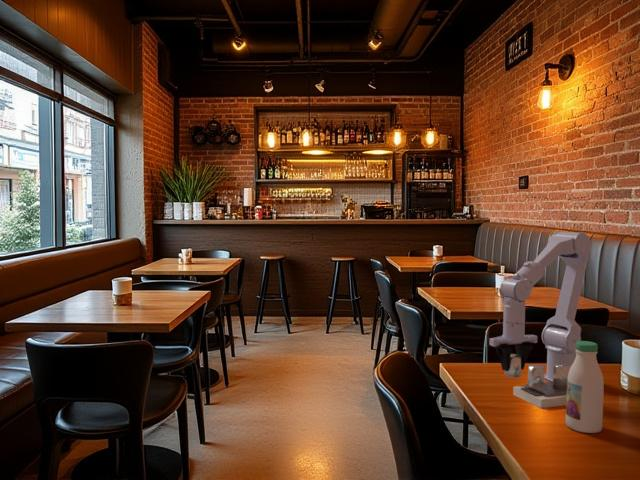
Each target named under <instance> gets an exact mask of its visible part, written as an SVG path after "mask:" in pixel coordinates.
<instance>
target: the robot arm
mask: <svg viewBox="0 0 640 480" xmlns="http://www.w3.org/2000/svg"><path fill="white" fill-rule="evenodd" d="M547 240H548V242H547V245H546V246H545V247H544V249H543V250H541V252H540V253H539V254H538V256H537V257H536V258H535V259H534V260H533V261H530V260H529V261H525V262H524V263H523V265H522V266H521V267H520V268H519V269H518V270H517V272H516V273H514V274H513V276H512V277H510V278H506V279H505V280H504V281H502V282H501V284H500V287H499V288H498V291H499V295H500V296H501V302H502V304H503V314H502V315H503V316H502V317H503V321H502V322H503V323H502V335H500V336H496V337H491V338H489V343H488V344H489V346H491V347H494V350H495V351H496V353H497V355H498V357H499V362H500V365H501V369H502V370H503V371H504V372H505V371H509V363H510V355H511V354H512V352H513V348H511V347H510V345H514V347H515V354H517V355H520V356H522V359H521V371H523V370H524V369H525V366H526V362H527V360H528V357H529V355H530V354H531V351H533V349H534V345H533V344H536V343H538V335H535V334H525V332H526V331H525V327H526V325H525V324H526V322H525V321H526V300H527V299H529V297H530V296H531V292H532V290H533V287H534V286H535V285H536V284H537V283H538V282H539V281H540V279H541V278H543V276H544V274H545V273H544V272H545V271H544V270H545V269H546V268H547V267H548V266H549V265H550V264H551V263H552V262H554V261H555V260H556V259H557V258H560V259H561V260H562V261H564V263H565V264H566V265H565V266H566V267H565V270H564V275H563V279H562V283H561V288H560V293H559V297H558V300H557V306H556V309H555V310H556V311H555V315H554V316H552V317H550V318H549V319H547V320H546V325H545V326H544V327H543V330H542V332H541V340H542V343H543V344H544V346H545V347H544V348H545V349H547V351H546V352H547V353H546V354H547V355H546V374H545V373H544V380H547V381H548V382H552V381H553V365H554V364H566V365H569V366H572V364H573V363H574V360H575V358H576V354H577V352H576V342H578V341H582V337H581V333H582V327H581V326H580V325H579V324H578V323H577V322H576V320H575V319H576V316H577V315H576V314H577V309H578V305H579V302H580V298H581V297H580V296H581V291H582V287H583V283H584V279H585V274H586V270H587V264H588V262H589V258H590V253H591V250H592V244H593V243H592V240H591V239H590V237H589V235H588V234H587V233H586V232H583V231H582V232H574V231H573V232H569V231H560V230H559V231H558V230H557V231H554V232H553V233H552V235H551V236H550V237H548V239H547ZM562 327H563V328H562ZM531 343H533V344H531Z"/></svg>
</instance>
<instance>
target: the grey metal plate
mask: <svg viewBox="0 0 640 480" xmlns="http://www.w3.org/2000/svg"><path fill="white" fill-rule="evenodd" d="M525 387H527V388H530V389H532V390H534V391H536V392H538V393H540V394H543V395H545V396H549V395H558V394H566V393H567V389H563V388H557V387H554V386H553V381H544V382H543V383H534V384H528V383H527V384H525Z"/></svg>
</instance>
